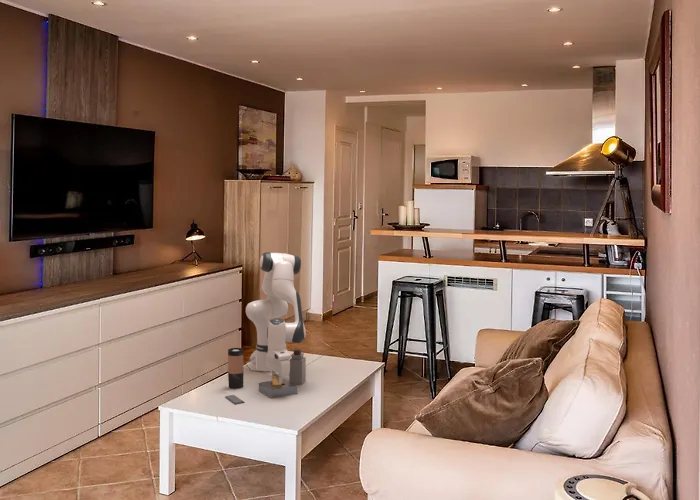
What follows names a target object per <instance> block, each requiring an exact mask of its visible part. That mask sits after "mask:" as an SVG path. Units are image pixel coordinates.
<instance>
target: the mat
mask: <svg viewBox="0 0 700 500" xmlns="http://www.w3.org/2000/svg"><path fill="white" fill-rule="evenodd" d="M224 397H225V399H226V398H227V400H228V401H229V402H231V403H232V404H234V405H240V404H246V402H245V401H244V400H243V399H241V398H239V397H237V396H236V395H235V394H229V395H224Z"/></svg>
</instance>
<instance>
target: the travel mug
mask: <svg viewBox="0 0 700 500" xmlns="http://www.w3.org/2000/svg"><path fill="white" fill-rule="evenodd" d="M244 370H245V368H244V349H243V348H241V347H232V348H228V349H227V375H228V378H227V379H228V381H227V382H228V389H230V390H239V389H243V388H244V375H245V374H244Z"/></svg>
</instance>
